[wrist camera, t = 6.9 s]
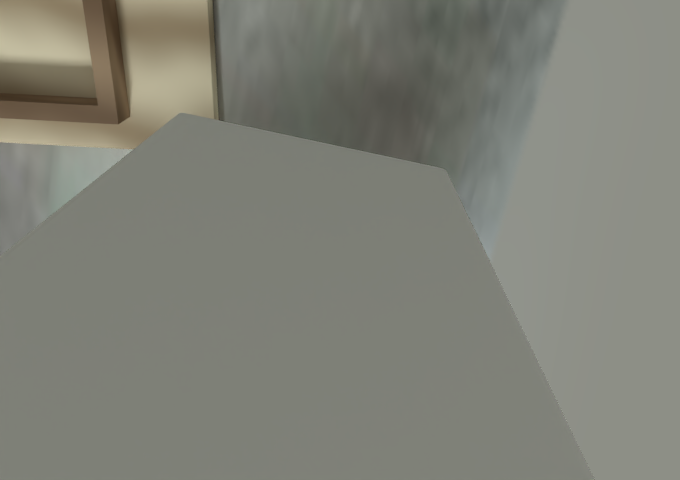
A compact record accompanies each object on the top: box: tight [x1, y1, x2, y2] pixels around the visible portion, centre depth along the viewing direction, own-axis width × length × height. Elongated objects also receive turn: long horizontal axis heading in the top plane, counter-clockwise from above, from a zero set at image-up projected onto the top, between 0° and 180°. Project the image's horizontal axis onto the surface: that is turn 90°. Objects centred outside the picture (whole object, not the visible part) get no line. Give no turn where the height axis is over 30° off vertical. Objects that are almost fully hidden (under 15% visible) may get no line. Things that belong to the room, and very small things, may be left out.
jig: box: [0, 0, 219, 149], centre depth 29 cm, size 16×22×3 cm
